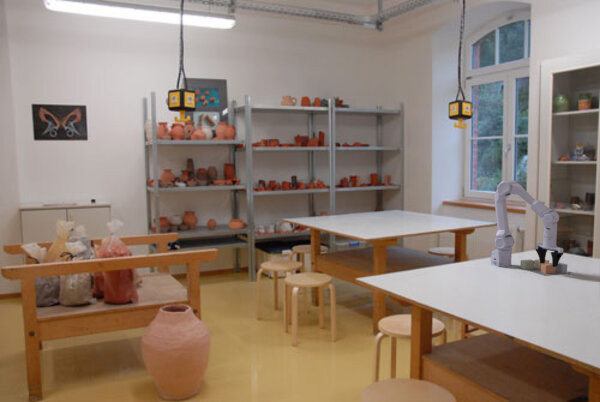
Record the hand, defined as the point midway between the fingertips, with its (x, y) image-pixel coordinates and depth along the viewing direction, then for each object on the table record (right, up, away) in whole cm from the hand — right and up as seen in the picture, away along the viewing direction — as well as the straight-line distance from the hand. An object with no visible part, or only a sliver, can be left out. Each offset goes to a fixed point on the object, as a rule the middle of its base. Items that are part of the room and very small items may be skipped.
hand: (548, 264), depth 238 cm
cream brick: (+2, -3, +10) cm, 11 cm away
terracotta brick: (0, -4, 0) cm, 4 cm away
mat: (0, -4, +4) cm, 6 cm away
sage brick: (-6, -3, +9) cm, 11 cm away
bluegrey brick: (+7, -4, +3) cm, 8 cm away
